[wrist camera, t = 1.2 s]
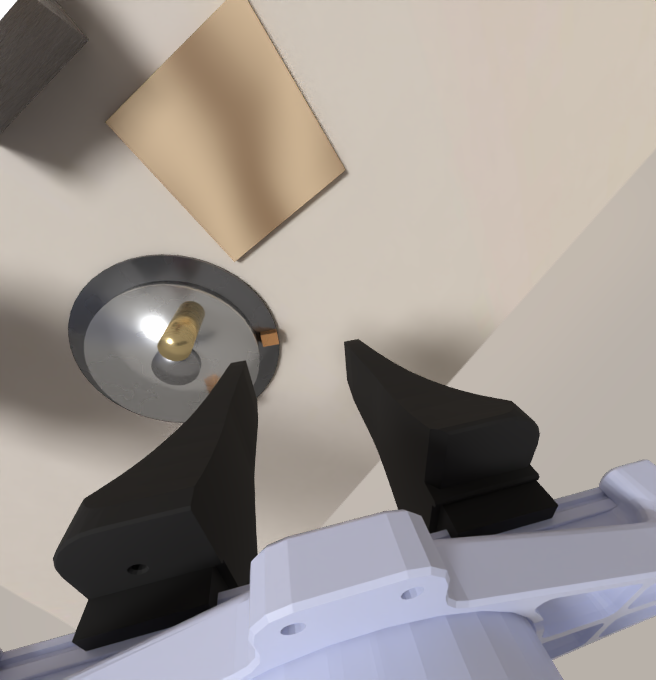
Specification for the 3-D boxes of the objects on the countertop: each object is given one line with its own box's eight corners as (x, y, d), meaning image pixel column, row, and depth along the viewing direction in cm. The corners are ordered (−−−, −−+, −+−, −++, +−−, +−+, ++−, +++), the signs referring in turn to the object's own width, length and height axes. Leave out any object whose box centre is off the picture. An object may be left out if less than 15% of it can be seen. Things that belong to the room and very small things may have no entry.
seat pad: (235, 260, 20) (234, 261, 20) (108, 123, 15) (105, 122, 15) (343, 170, 19) (345, 169, 18) (240, -9, 14) (239, -14, 14)
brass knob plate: (85, 395, 22) (35, 460, 17) (103, 254, 18) (44, 285, 13) (235, 421, 26) (230, 480, 21) (279, 311, 22) (285, 351, 17)
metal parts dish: (63, 401, 22) (56, 410, 22) (80, 217, 17) (72, 219, 16) (248, 432, 27) (247, 439, 27) (305, 296, 22) (307, 301, 21)
